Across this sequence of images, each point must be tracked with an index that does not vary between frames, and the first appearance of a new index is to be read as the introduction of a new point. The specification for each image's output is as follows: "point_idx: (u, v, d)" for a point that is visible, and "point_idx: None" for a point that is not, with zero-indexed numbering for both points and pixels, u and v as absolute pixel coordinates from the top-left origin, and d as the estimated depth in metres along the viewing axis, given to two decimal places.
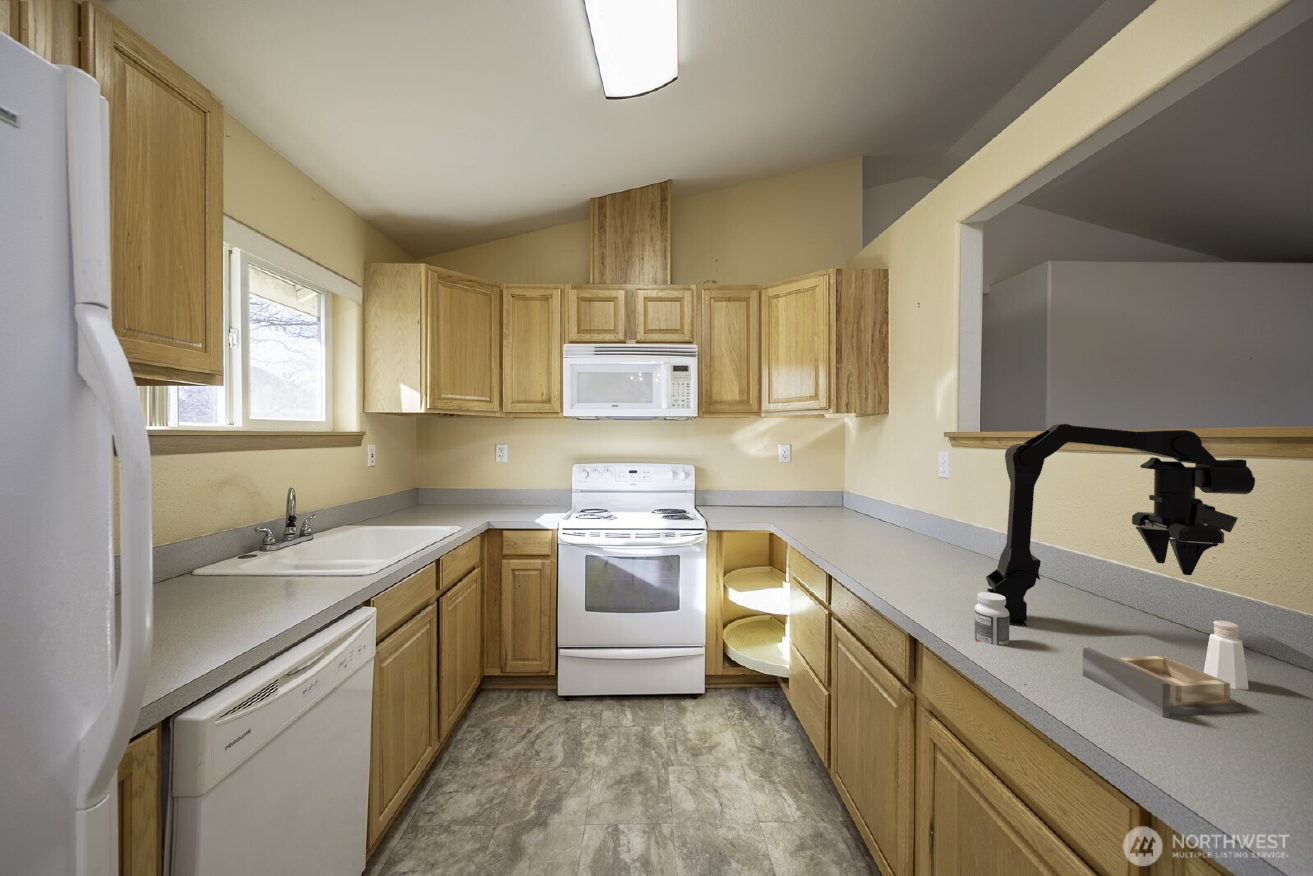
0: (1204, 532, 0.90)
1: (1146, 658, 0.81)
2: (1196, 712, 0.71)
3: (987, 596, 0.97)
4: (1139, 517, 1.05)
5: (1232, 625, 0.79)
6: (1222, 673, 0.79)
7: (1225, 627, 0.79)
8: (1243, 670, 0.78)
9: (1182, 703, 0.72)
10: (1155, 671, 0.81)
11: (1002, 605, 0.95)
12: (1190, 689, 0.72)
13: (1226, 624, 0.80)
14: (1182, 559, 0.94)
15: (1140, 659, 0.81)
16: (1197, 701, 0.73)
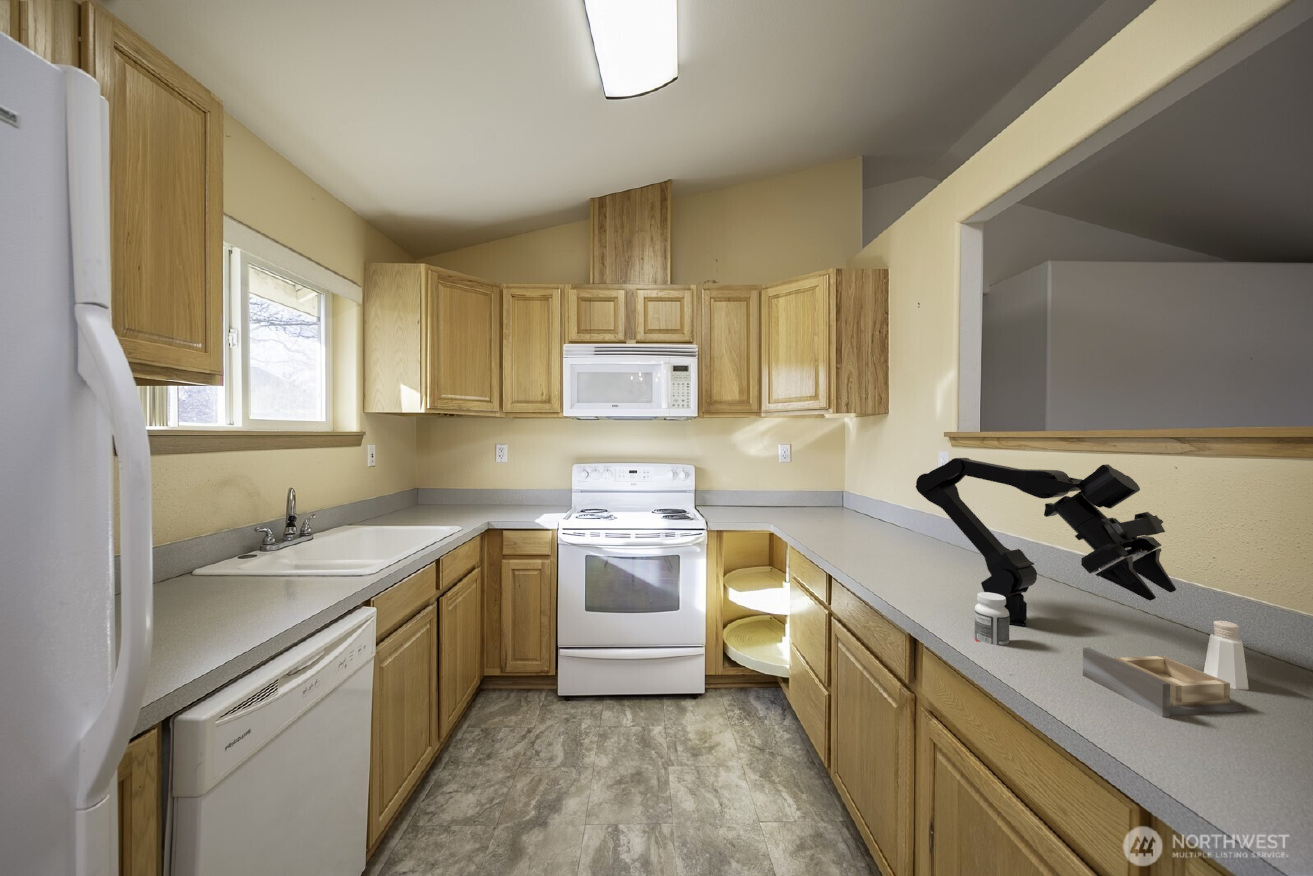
0: (1095, 555, 0.88)
1: (1146, 658, 0.81)
2: (1196, 712, 0.71)
3: (988, 596, 0.97)
4: None
5: (1232, 625, 0.79)
6: (1222, 673, 0.79)
7: (1225, 627, 0.79)
8: (1243, 670, 0.78)
9: (1182, 703, 0.72)
10: (1155, 671, 0.81)
11: (1002, 605, 0.95)
12: (1190, 689, 0.72)
13: (1226, 624, 0.80)
14: (1128, 587, 0.87)
15: (1140, 659, 0.81)
16: (1197, 701, 0.73)
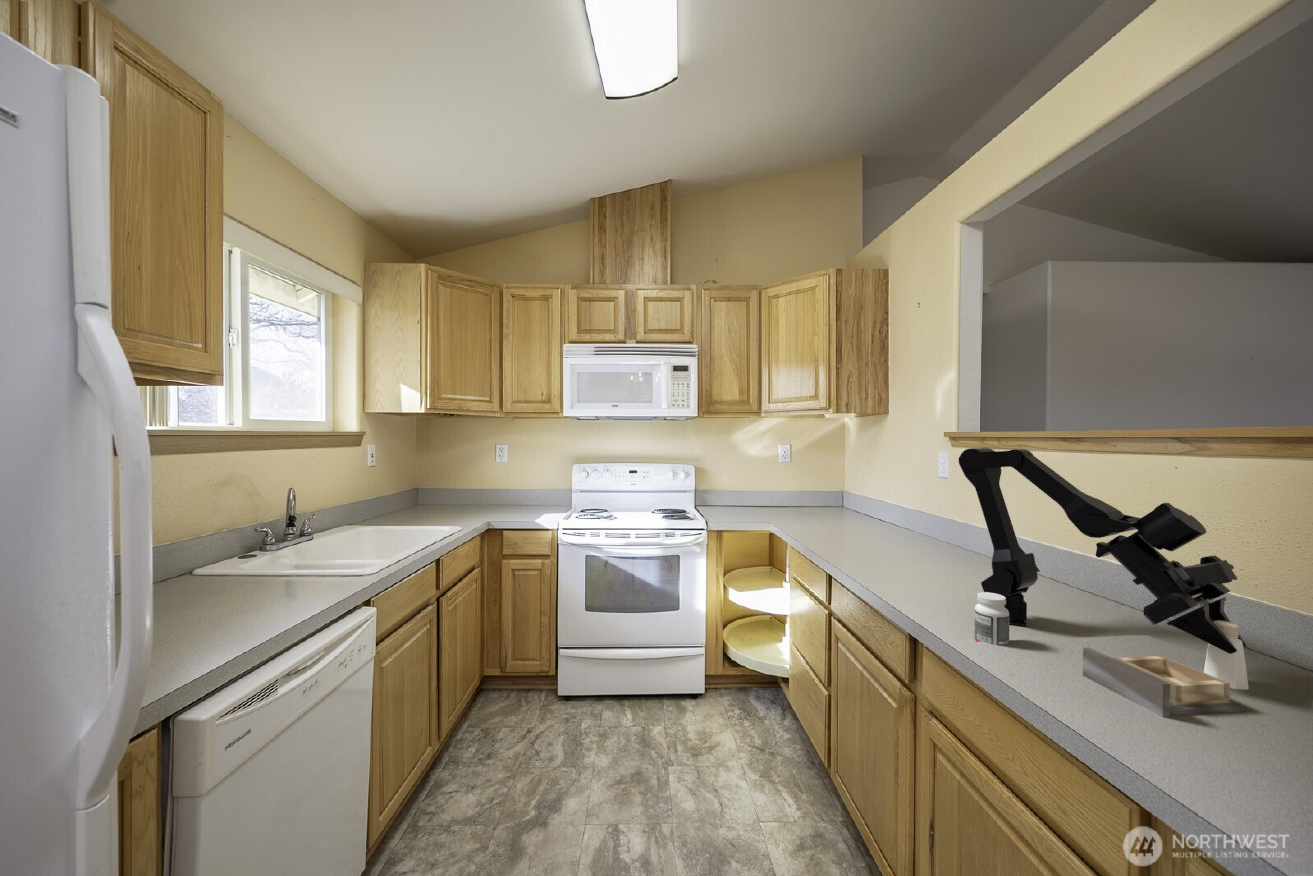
0: (1160, 605, 0.80)
1: (1146, 658, 0.81)
2: (1196, 712, 0.71)
3: (988, 596, 0.97)
4: None
5: (1232, 625, 0.79)
6: (1222, 673, 0.79)
7: (1225, 627, 0.79)
8: (1243, 670, 0.78)
9: (1182, 703, 0.72)
10: (1155, 671, 0.81)
11: (1002, 605, 0.95)
12: (1190, 689, 0.72)
13: (1226, 624, 0.80)
14: (1204, 638, 0.80)
15: (1140, 659, 0.81)
16: (1197, 701, 0.73)
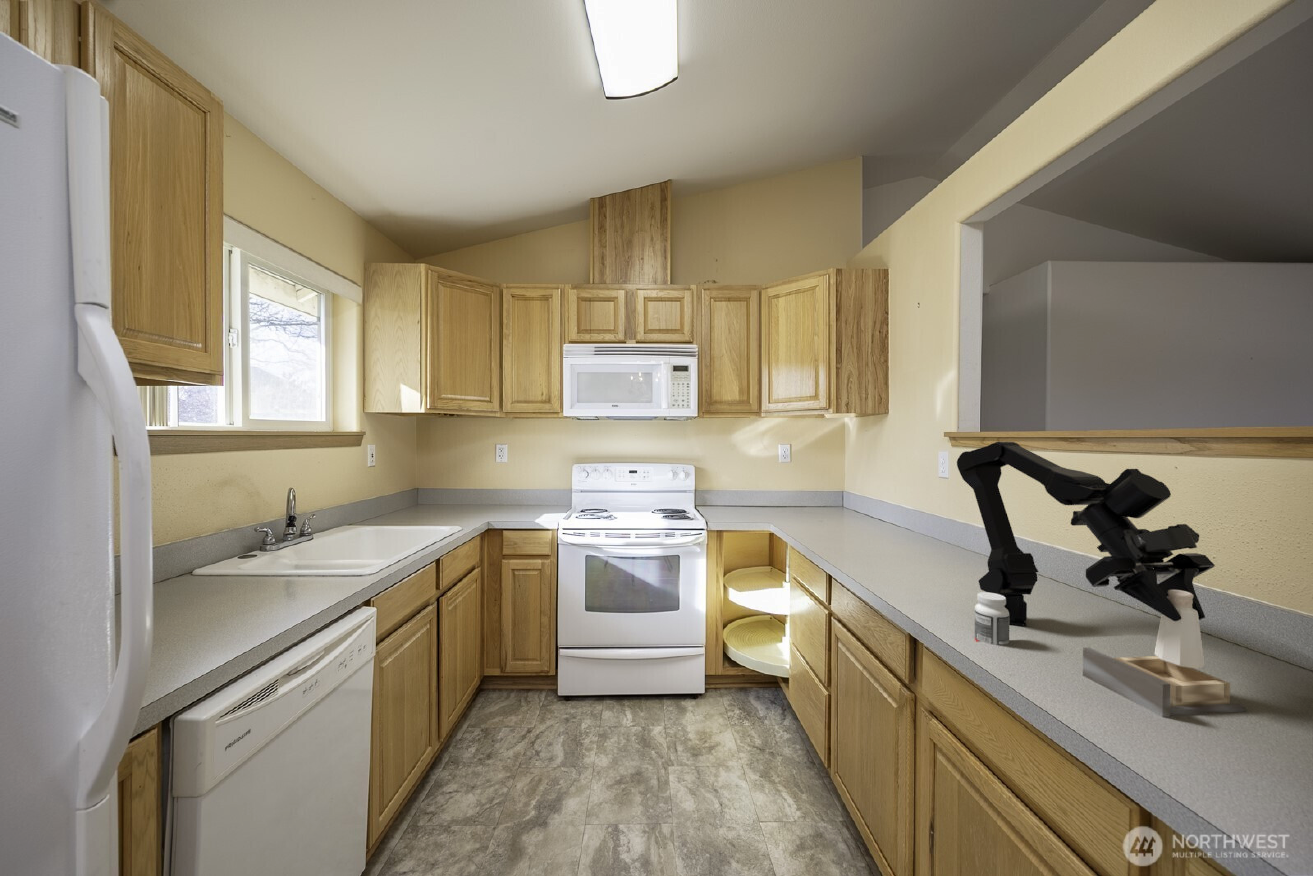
0: (1096, 567, 0.81)
1: (1146, 658, 0.81)
2: (1196, 712, 0.71)
3: (988, 596, 0.97)
4: None
5: (1183, 593, 0.76)
6: (1168, 641, 0.77)
7: (1175, 595, 0.77)
8: (1191, 640, 0.75)
9: (1182, 703, 0.72)
10: (1155, 671, 0.81)
11: (1002, 605, 0.95)
12: (1190, 689, 0.72)
13: (1177, 592, 0.77)
14: (1151, 604, 0.78)
15: (1140, 659, 0.81)
16: (1197, 701, 0.73)
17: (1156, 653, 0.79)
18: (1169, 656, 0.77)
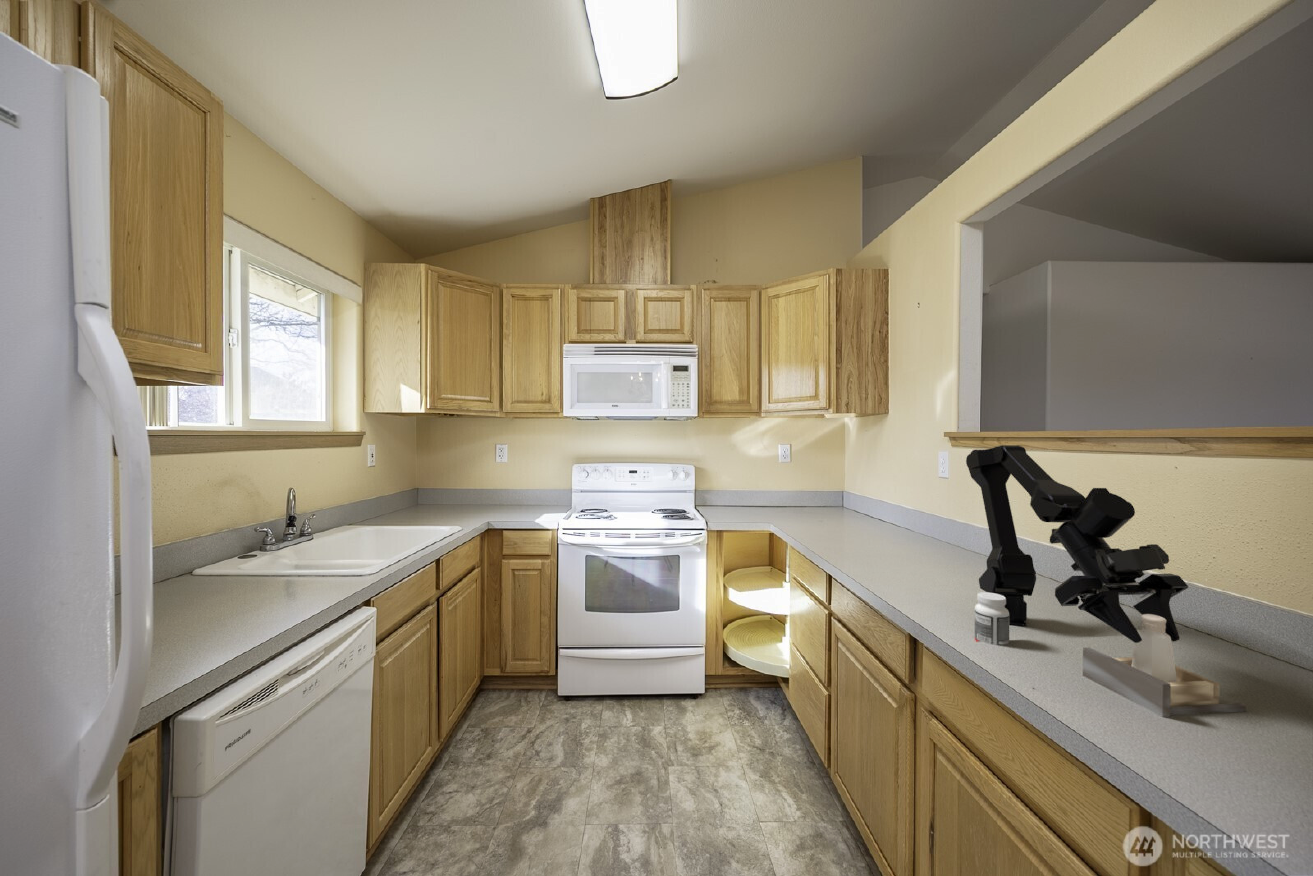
0: (1063, 586, 0.81)
1: None
2: (1196, 712, 0.71)
3: (988, 596, 0.97)
4: None
5: (1155, 618, 0.76)
6: (1141, 666, 0.77)
7: (1147, 620, 0.77)
8: (1163, 665, 0.75)
9: (1171, 704, 0.72)
10: None
11: (1002, 605, 0.95)
12: (1179, 690, 0.72)
13: (1150, 617, 0.77)
14: (1113, 625, 0.78)
15: (1131, 659, 0.81)
16: (1186, 702, 0.72)
17: None
18: None
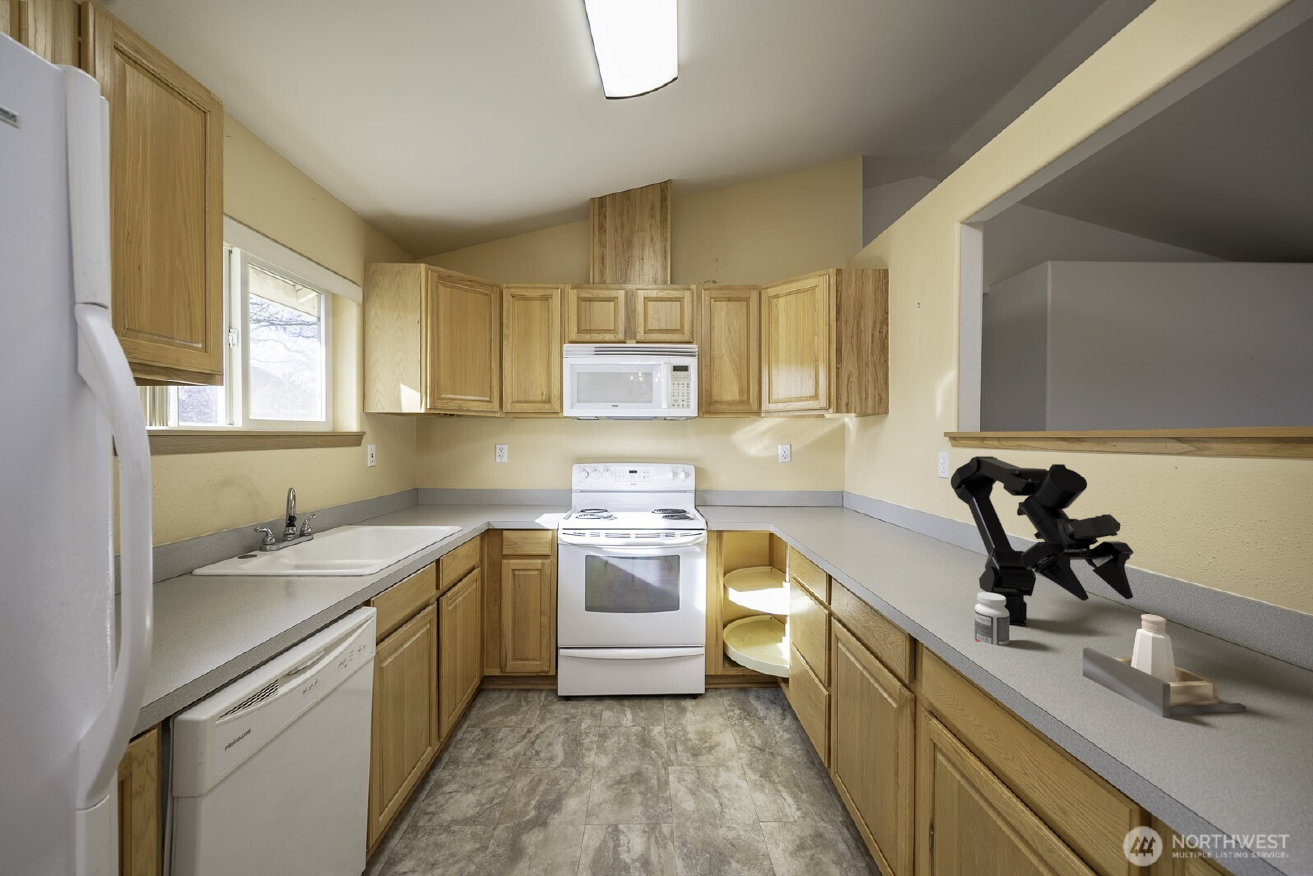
0: (1030, 551, 0.89)
1: None
2: (1196, 712, 0.71)
3: (988, 596, 0.97)
4: None
5: (1155, 618, 0.76)
6: (1140, 666, 0.77)
7: (1147, 620, 0.77)
8: (1163, 666, 0.75)
9: (1170, 704, 0.72)
10: None
11: (1002, 605, 0.95)
12: (1179, 690, 0.72)
13: (1150, 617, 0.77)
14: (1064, 586, 0.86)
15: (1130, 659, 0.81)
16: (1186, 702, 0.72)
17: None
18: None
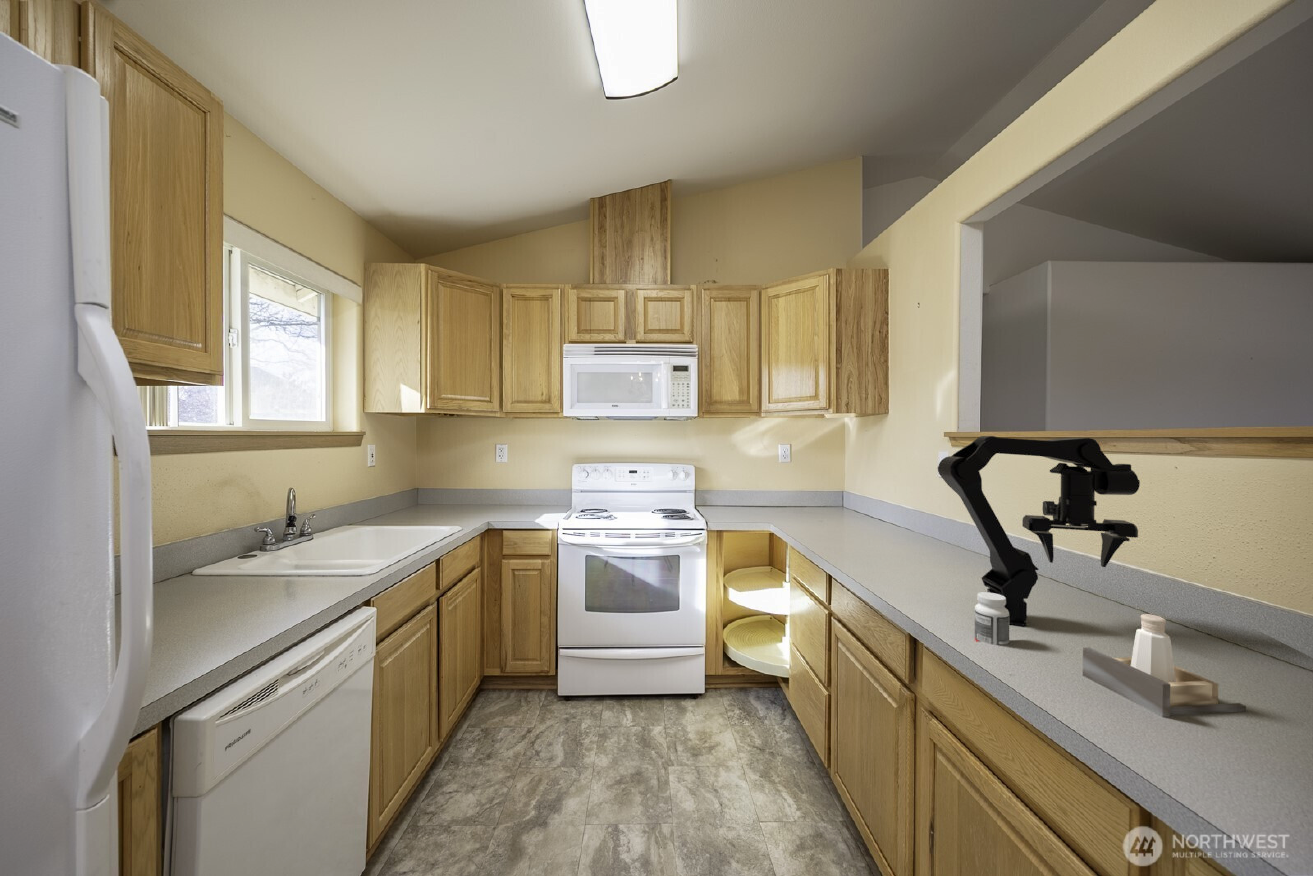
0: None
1: None
2: (1196, 712, 0.71)
3: (988, 596, 0.97)
4: (1048, 523, 1.08)
5: (1155, 618, 0.76)
6: (1140, 666, 0.77)
7: (1146, 620, 0.77)
8: (1162, 666, 0.75)
9: (1170, 704, 0.72)
10: None
11: (1002, 605, 0.95)
12: (1178, 690, 0.72)
13: (1149, 617, 0.77)
14: None
15: (1130, 659, 0.81)
16: (1185, 702, 0.72)
17: None
18: None
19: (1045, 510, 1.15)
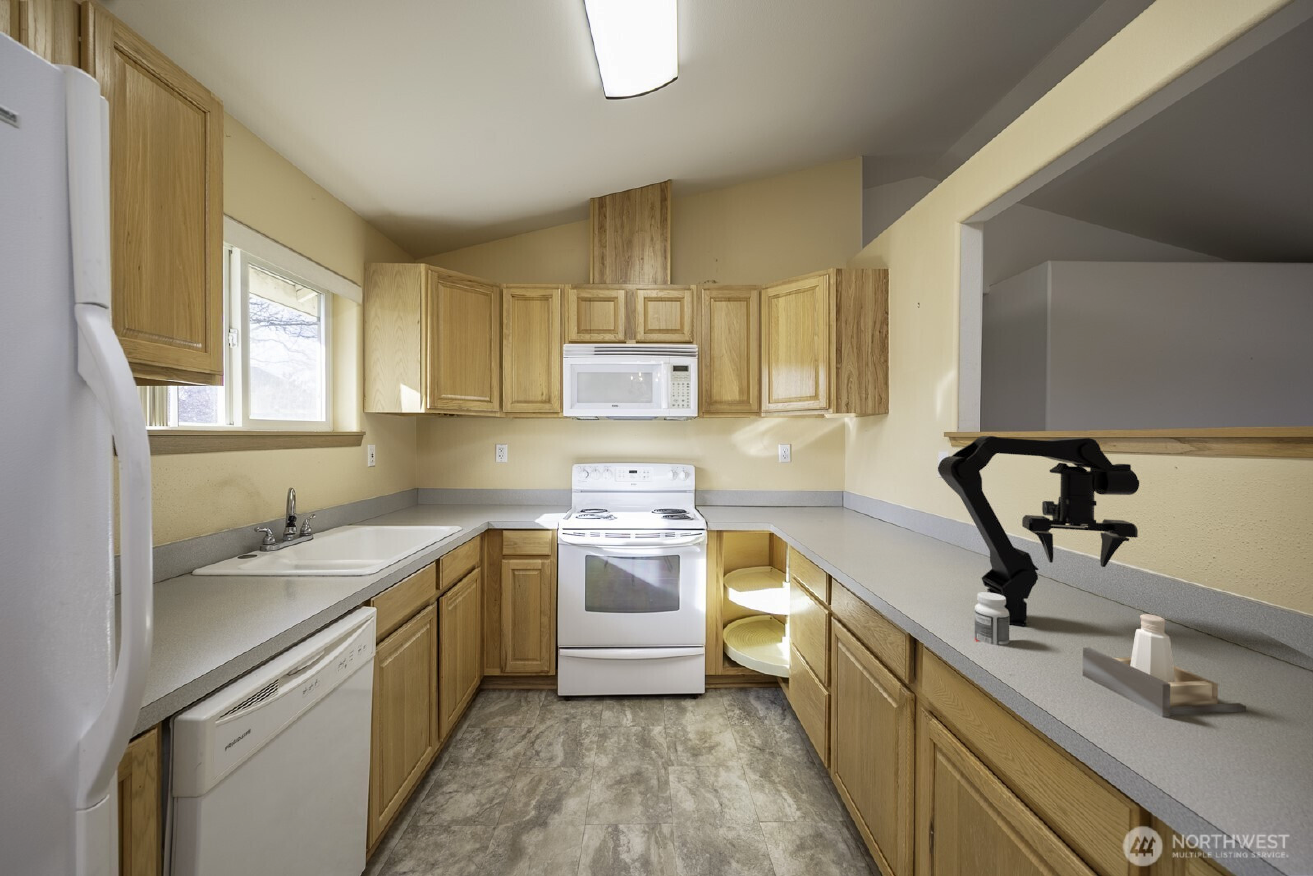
0: None
1: None
2: (1196, 712, 0.71)
3: (988, 596, 0.97)
4: (1048, 523, 1.08)
5: (1154, 618, 0.76)
6: (1139, 666, 0.77)
7: (1146, 620, 0.77)
8: (1162, 666, 0.75)
9: None
10: None
11: (1002, 605, 0.95)
12: (1178, 690, 0.72)
13: (1149, 617, 0.77)
14: None
15: (1129, 659, 0.81)
16: (1185, 702, 0.72)
17: None
18: None
19: (1045, 510, 1.15)
